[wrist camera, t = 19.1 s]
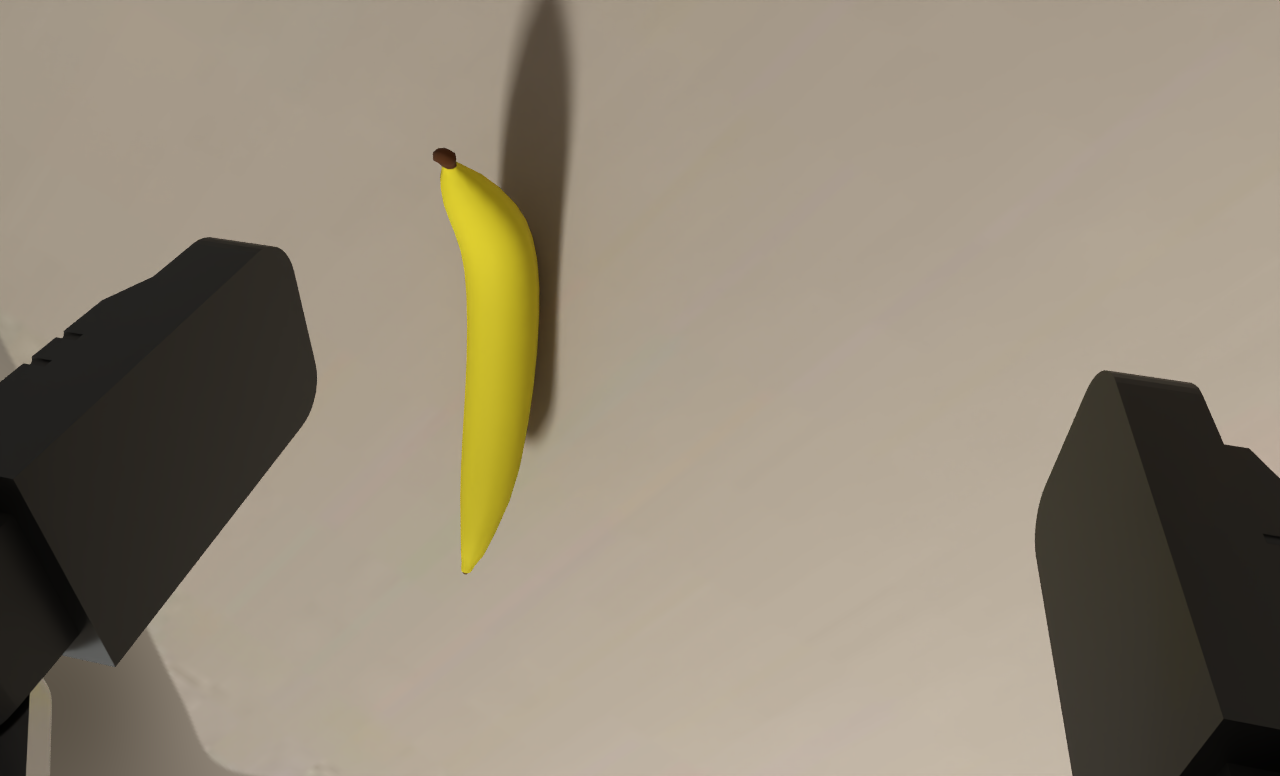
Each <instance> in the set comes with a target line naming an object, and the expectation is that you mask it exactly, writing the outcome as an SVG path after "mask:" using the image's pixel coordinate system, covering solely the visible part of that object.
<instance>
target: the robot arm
mask: <svg viewBox="0 0 1280 776" xmlns="http://www.w3.org/2000/svg"><path fill="white" fill-rule="evenodd" d="M316 386H317V370H316V364H315V360H314V355H313V351H312V347H311V343H310V338H309V334H308V330H307V325H306V321H305V317H304V312H303V308H302V304H301V300H300V295H299V291H298V287H297V282H296V278H295V274H294V270H293V267H292V264H291V261H290V259H289V258H288V256H287V255H286V253H285V252H284V251H283V250H281V249H279V248H278V247H273V246H266V245H259V244H252V243H246V242H239V241H232V240H225V239H218V238H211V237H207V238H202V239H200V240H198V241H196V242H195V243H193V244H192V245H191V246H190V247H189V248H187V249H186V250H185V251H184V252H182V253H181V254H180V255H179V256H178V257H176V258H175V259H174V260H173V261H172V262H170V263H169V264H168V265H167V266H166V267H164V268H163V269H162V270H161V271H159V272H158V273H157V274H156V275H155V276H153V277H151V278H149V279H147V280H145V281H143V282H141V283H138V284H136V285H134V286H132V287H130V288H128V289H126V290H123V291H121V292H119V293H117V294H115V295H113V296H110V297H108V298H106V299H104V300H102V301H101V302H99V303H98V304H97V305H96V306H94V307H93V308H92V309H91V310H89V311H88V312H87V313H86V314H84V315H83V316H82V317H81V318H79V319H78V320H77V321H76V322H74V323H73V324H72V325H71V326H70V327H68V328H67V329H66V330H65V331H64V336H63V338H57V337H56V338H55V339H53V340H52V341H51V342H50V343H48V344H47V345H46V346H45V347H43V348H42V349H41V350H40V351H38V352H37V353H36V354H35V355H33V356H32V362H31V364H30V365H29V364H22V365H21V366H20V367H18V368H17V369H16V370H15V371H13V372H12V373H11V374H10V375H8V376H7V377H6V378H5V379H4V380H2V381H1V382H0V776H50V747H51V711H52V709H51V708H52V702H51V693H50V691H49V688H48V686H47V684H46V682H45V681H44V679H43V677H44V676H45V675H46V673H47V672H48V671H49V670H50V669H51V668H52V666H53V665H54V664H55V663H56V662H57V660H58V659H59V658H60V657H61V656H62V655H63V656H68V657H72V658H77V659H81V660H86V661H91V662H95V663H100V664H104V665H108V666H113V667H116V665H117V664H118V663H119V662H120V660H121V659H122V658H123V656H124V655H125V654H126V653H127V651H128V650H129V649H130V647H131V646H132V645H133V644H134V642H135V641H136V640H137V638H138V637H139V636H140V634H141V633H142V632H143V631H144V629H145V628H146V627H147V626H148V624H149V623H150V622H151V620H152V619H153V618H154V616H155V615H156V614H157V613H158V611H159V610H160V609H161V607H162V606H163V605H164V604H165V602H166V601H167V600H168V598H169V597H170V596H171V595H172V593H173V592H174V591H175V589H176V588H177V587H178V585H179V584H180V583H181V582H182V580H183V579H184V578H185V576H186V575H187V574H188V573H189V571H190V570H191V569H192V567H193V566H194V565H195V564H196V562H197V561H198V560H199V558H200V557H201V556H202V555H203V553H204V552H205V551H206V549H207V548H208V547H209V545H210V544H211V543H212V542H213V540H214V539H215V538H216V536H217V535H218V534H219V533H220V531H221V530H222V529H223V527H224V526H225V525H226V524H227V522H228V521H229V520H230V518H231V517H232V516H233V514H234V513H235V512H236V511H237V509H238V508H239V507H240V505H241V504H242V503H243V502H244V500H245V499H246V498H247V496H248V495H249V494H250V493H251V491H252V490H253V489H254V487H255V486H256V485H257V484H258V482H259V481H260V480H261V478H262V477H263V476H264V474H265V473H266V472H267V471H268V469H269V468H270V467H271V465H272V464H273V463H274V462H275V460H276V459H277V458H278V456H279V455H280V454H281V453H282V451H283V450H284V449H285V447H286V446H287V445H288V443H289V442H290V441H291V440H292V438H293V437H294V436H295V434H296V433H297V432H298V431H299V429H300V428H301V427H302V425H303V424H304V422H305V421H306V419H307V417H308V415H309V413H310V411H311V408H312V405H313V402H314V398H315V393H316ZM1035 552H1036V559H1037V565H1038V571H1039V577H1040V583H1041V589H1042V595H1043V601H1044V607H1045V613H1046V619H1047V625H1048V631H1049V637H1050V643H1051V649H1052V655H1053V661H1054V667H1055V673H1056V679H1057V685H1058V691H1059V697H1060V703H1061V709H1062V715H1063V721H1064V727H1065V733H1066V739H1067V745H1068V751H1069V757H1070V763H1071V769H1072V775H1073V776H1280V478H1279V477H1278V476H1277V475H1276V474H1275V473H1274V472H1273V471H1272V470H1271V469H1270V468H1269V467H1267V466H1266V465H1265V464H1264V463H1263V462H1262V461H1261V460H1260V459H1259V458H1258V457H1257V456H1256V455H1255V454H1254V453H1253V452H1252V451H1251V450H1250V449H1249V448H1243V447H1236V446H1230V445H1224V443H1223V441H1222V439H1221V436H1220V434H1219V432H1218V430H1217V427H1216V425H1215V423H1214V420H1213V418H1212V416H1211V413H1210V411H1209V409H1208V406H1207V404H1206V402H1205V400H1204V397H1203V395H1202V393H1201V391H1200V390H1199V388H1198V387H1197V386H1196V385H1194V384H1192V383H1188V382H1181V381H1175V380H1168V379H1161V378H1154V377H1147V376H1140V375H1134V374H1127V373H1120V372H1113V371H1105V370H1104V371H1101V372H1100V373H1098V374H1097V375H1096V376H1095V377H1094V379H1093V380H1092V382H1091V383H1090V385H1089V387H1088V389H1087V391H1086V393H1085V395H1084V398H1083V400H1082V402H1081V405H1080V407H1079V409H1078V412H1077V414H1076V416H1075V419H1074V421H1073V423H1072V425H1071V428H1070V430H1069V432H1068V435H1067V437H1066V439H1065V442H1064V444H1063V446H1062V449H1061V451H1060V453H1059V455H1058V458H1057V460H1056V462H1055V465H1054V467H1053V469H1052V472H1051V474H1050V476H1049V479H1048V481H1047V483H1046V485H1045V488H1044V491H1043V493H1042V497H1041V500H1040V504H1039V508H1038V513H1037V520H1036V529H1035Z"/></svg>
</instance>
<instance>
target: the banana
mask: <svg viewBox="0 0 1280 776" xmlns="http://www.w3.org/2000/svg"><path fill="white" fill-rule="evenodd" d="M433 160H434V161H436V162H438V163H439V164H440V165H441V166H442V170H441V175H440V181H441V192H442V197H443V203H444V206H445V209H446V212H447V214H448V217H449V220H450V222H451V225H452V227H453V230H454V232H455V235H456V238H457V241H458V244H459V247H460V250H461V255H462V260H463V265H464V270H465V282H466V295H467V365H466V386H465V405H464V422H463V439H462V459H461V493H460V506H461V560H462V565H461V570H462V572H463V574H467V573H470V572H471V571H472V569H473V568H474V566H475V565H476V564H477V562H478V561H479V560H480V559H481V558H482V556H483V555H484V553H485V552H486V550H487V548H488V546H489V544H490V542H491V540H492V538H493V536H494V534H495V532H496V530H497V528H498V526H499V523H500V521H501V519H502V516H503V514H504V512H505V510H506V507H507V505H508V503H509V501H510V497H511V494H512V491H513V488H514V484H515V481H516V478H517V475H518V471H519V467H520V463H521V458H522V453H523V448H524V443H525V437H526V432H527V427H528V421H529V414H530V408H531V401H532V394H533V387H534V378H535V368H536V358H537V346H538V329H539V275H538V263H537V256H536V251H535V246H534V241H533V237H532V234H531V232H530V229H529V226H528V224H527V221H526V219H525V218H524V216H523V214H522V213H521V211H520V210H519V208H518V207H517V205H516V204H515V203H514V202H513V201H512V200H511V199H510V198H509V197H508V196H507V195H506V194H505V193H504V192H503V191H502V190H501V188H499V187H498V186H497V185H495V184H494V183H493V182H491V181H490V180H489V179H487V178H486V177H484V176H483V175H482V174H480V173H478V172H476V171H474V170H472V169H470V168H468V167H466V166H464V165H462V164H460V163H458V162H456V155H455V153H454V152H452V151H450V150H448V149H446V148H438V149H437V150H435V151H434V152H433Z"/></svg>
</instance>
